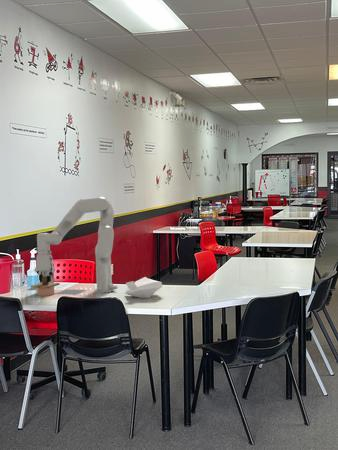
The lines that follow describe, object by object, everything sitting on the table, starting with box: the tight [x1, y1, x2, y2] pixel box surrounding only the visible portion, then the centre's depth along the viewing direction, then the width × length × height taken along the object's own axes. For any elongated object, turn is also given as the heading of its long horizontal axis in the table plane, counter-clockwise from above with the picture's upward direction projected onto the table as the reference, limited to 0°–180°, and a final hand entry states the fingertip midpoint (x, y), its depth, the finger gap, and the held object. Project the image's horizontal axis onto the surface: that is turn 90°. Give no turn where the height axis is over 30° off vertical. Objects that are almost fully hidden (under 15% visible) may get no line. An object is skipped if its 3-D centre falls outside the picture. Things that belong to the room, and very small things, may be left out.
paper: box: [124, 276, 163, 299], centre depth 346 cm, size 25×24×12 cm
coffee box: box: [40, 270, 55, 283], centre depth 394 cm, size 9×6×16 cm
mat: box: [54, 288, 88, 296], centre depth 367 cm, size 15×15×1 cm
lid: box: [30, 276, 61, 289], centre depth 363 cm, size 13×13×6 cm
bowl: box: [36, 286, 55, 297], centre depth 363 cm, size 10×10×5 cm
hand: (45, 281), depth 363 cm, fingers open, 4 cm apart
